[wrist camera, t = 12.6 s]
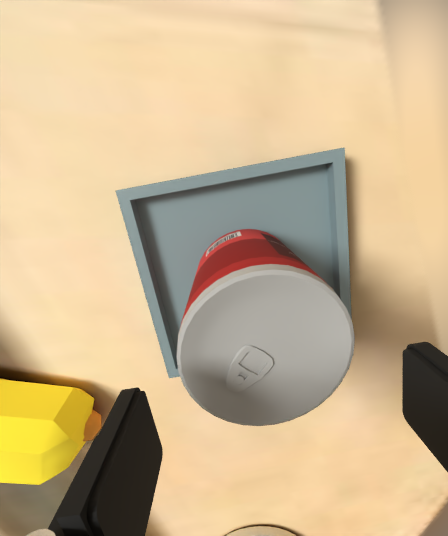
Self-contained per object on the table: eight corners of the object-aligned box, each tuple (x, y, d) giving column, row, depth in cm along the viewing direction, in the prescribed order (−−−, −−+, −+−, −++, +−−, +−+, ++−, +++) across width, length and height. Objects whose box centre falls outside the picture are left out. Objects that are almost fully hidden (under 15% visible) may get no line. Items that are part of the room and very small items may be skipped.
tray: (342, 336, 25) (352, 349, 23) (173, 363, 25) (169, 378, 23) (332, 151, 20) (344, 147, 18) (125, 190, 21) (115, 190, 19)
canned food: (185, 303, 23) (154, 406, 12) (214, 212, 20) (208, 241, 10) (269, 329, 23) (309, 445, 13) (306, 244, 21) (390, 300, 11)
